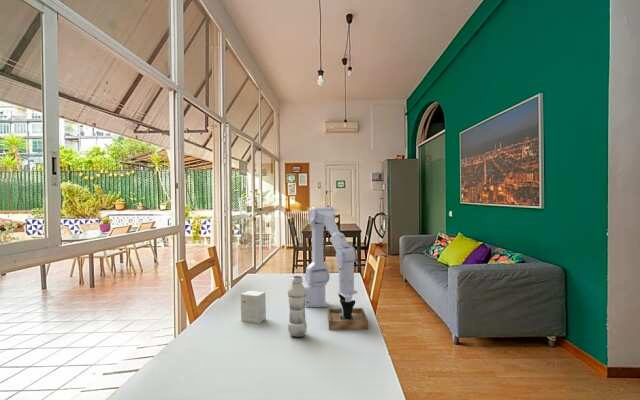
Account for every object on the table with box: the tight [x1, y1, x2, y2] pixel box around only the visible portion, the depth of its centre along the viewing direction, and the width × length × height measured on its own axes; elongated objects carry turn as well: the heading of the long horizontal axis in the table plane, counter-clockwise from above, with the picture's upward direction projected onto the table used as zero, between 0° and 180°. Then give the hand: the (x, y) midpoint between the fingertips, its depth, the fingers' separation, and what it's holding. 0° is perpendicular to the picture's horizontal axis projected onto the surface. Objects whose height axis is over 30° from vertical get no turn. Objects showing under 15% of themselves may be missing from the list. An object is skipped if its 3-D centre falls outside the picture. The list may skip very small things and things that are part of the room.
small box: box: [240, 290, 267, 324], centre depth 134 cm, size 8×6×10 cm
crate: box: [327, 307, 369, 331], centre depth 131 cm, size 14×14×3 cm
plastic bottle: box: [287, 275, 308, 338], centre depth 118 cm, size 6×7×20 cm
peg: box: [341, 306, 351, 320], centre depth 130 cm, size 3×3×6 cm
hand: (346, 315), depth 131 cm, fingers open, 7 cm apart
